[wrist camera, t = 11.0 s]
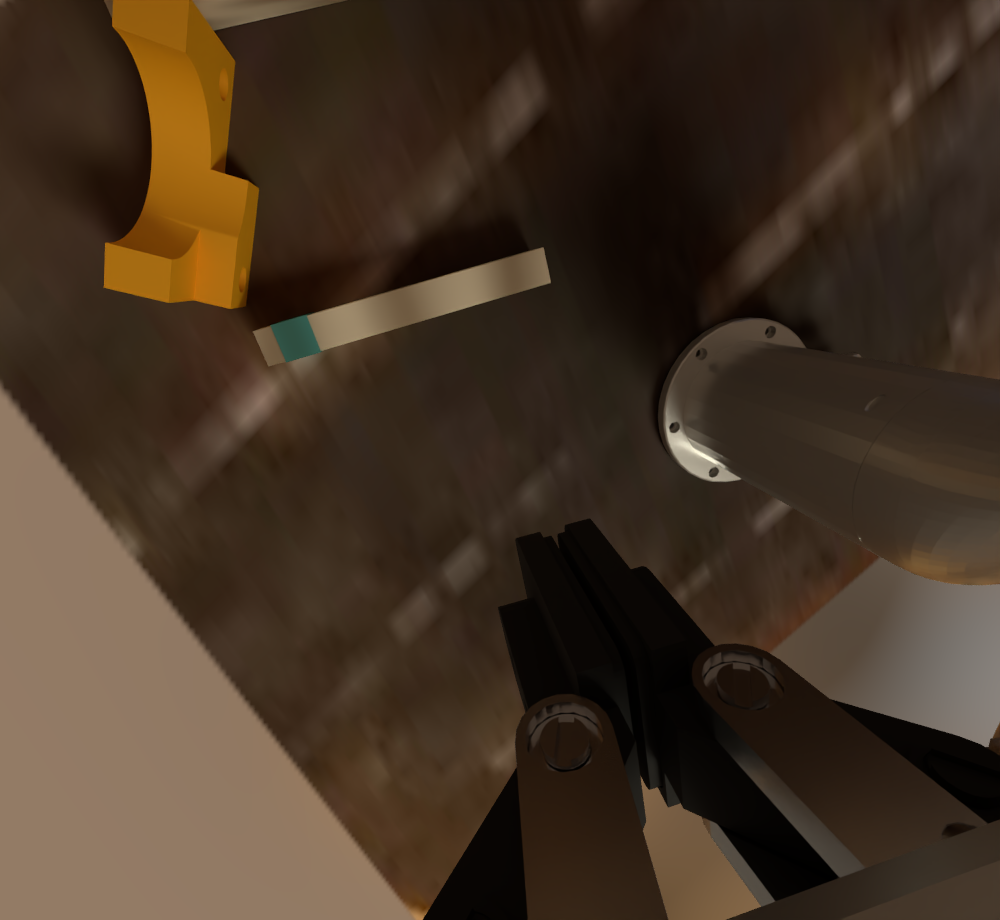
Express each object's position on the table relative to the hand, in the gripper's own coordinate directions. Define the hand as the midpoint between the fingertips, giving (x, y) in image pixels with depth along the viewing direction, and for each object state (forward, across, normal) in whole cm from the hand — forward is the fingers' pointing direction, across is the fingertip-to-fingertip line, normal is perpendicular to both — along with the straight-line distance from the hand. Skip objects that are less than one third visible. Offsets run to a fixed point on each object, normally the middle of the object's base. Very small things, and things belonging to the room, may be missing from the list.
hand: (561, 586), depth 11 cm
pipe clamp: (+24, +10, -14) cm, 30 cm away
